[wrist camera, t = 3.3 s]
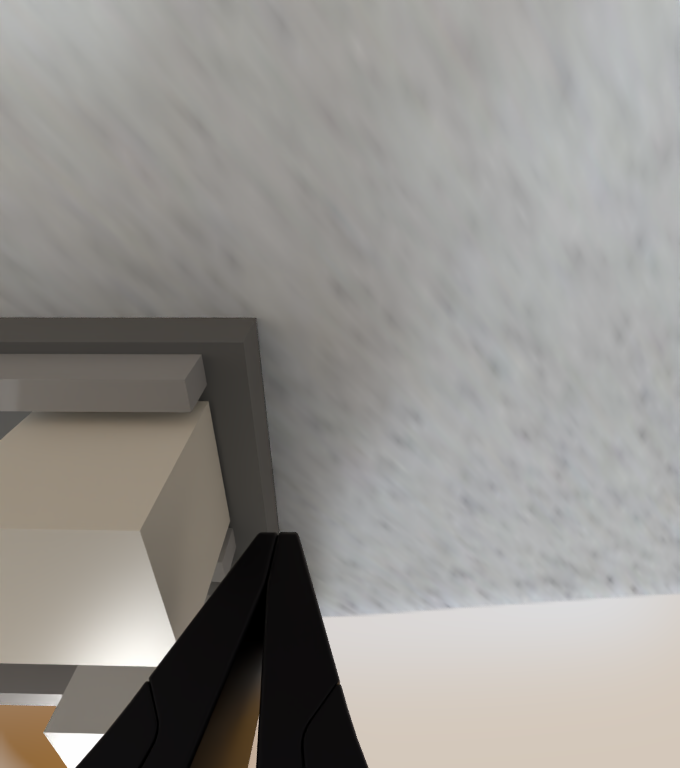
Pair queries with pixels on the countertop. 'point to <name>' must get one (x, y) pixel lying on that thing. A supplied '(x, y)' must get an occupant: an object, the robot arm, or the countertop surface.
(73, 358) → the switch board
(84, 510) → the beige cube
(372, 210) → the countertop surface
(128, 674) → the light grey cube
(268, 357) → the countertop surface
